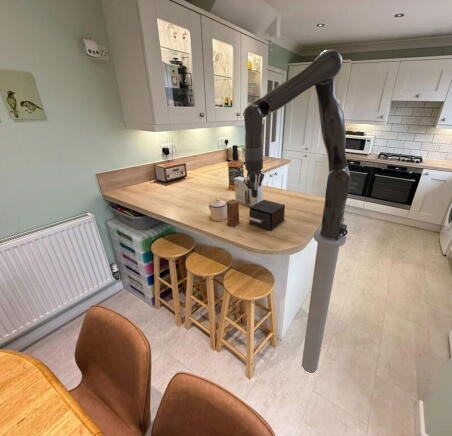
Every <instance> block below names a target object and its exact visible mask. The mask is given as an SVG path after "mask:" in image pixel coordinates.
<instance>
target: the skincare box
mask: <svg viewBox="0 0 452 436" xmlns="http://www.w3.org/2000/svg"><path fill="white" fill-rule="evenodd" d="M246 178H247V177H244V178H243V177H236V178H234V182H235V190H234V194H235V195H234V196H235V200H237V201H238V203H241V204H243V205H246V206H248V207H249V208H250V207H252V206H253V205H255V204H257V203H259V202H260V201H262V200H263V198H264V197H263V183H262V184H261V186H259V188H258V197H256V198H254V197H252V192H251V189H248V187H247V186H246V185H245V183H244V179H246Z"/></svg>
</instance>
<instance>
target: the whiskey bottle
mask: <svg viewBox="0 0 452 436" xmlns="http://www.w3.org/2000/svg"><path fill="white" fill-rule="evenodd" d="M231 148H232V154H231V158H232V159H231V160H230V161H229V162H227V169H228V171H227V172H228V185H227V186H228V187H227V188H228V191H229V190H230V191H235V182H234V178H236V177H243V178H245V176H244V175H245V174H244V173H245V172H244V166H245V161H242V160H240V159H239V158H240V157H239V149H238V145H237V144H233V145H232V147H231Z"/></svg>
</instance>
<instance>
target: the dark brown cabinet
mask: <svg viewBox="0 0 452 436" xmlns="http://www.w3.org/2000/svg"><path fill="white" fill-rule="evenodd" d="M250 209H251V210H256V211H259V212H263V213H267V214H270V215H271V225H270V229H268V230H269V231H273V230H274V229H275V228H276V227H278V226H279V225H280V224H282V223H283V222H284V221H285V213H286V211H285V210H286V204H283V203H279V202H275V201H272V200H268V199H262V201H260V202H259V203H257V204H255V205H253V206H252V207H250V206H249V210H250ZM249 224H251V223H250V222H249ZM251 225H253V226H257V225H254V224H251ZM257 227H259V228H263V227H260V226H257ZM263 229H264V228H263Z"/></svg>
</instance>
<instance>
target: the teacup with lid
mask: <svg viewBox="0 0 452 436" xmlns="http://www.w3.org/2000/svg"><path fill="white" fill-rule="evenodd" d="M226 202H227V201H225V200H224V199H223V200H221V199H220V198H219V197H218V198H215V200H212V201H211V202H210V203H209V204H208V209H209V211H210V217H211V220H213V221H214V222H221V221H224V220H227V204H226Z"/></svg>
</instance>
